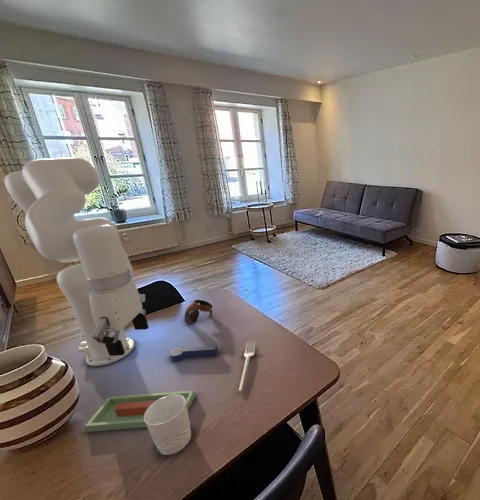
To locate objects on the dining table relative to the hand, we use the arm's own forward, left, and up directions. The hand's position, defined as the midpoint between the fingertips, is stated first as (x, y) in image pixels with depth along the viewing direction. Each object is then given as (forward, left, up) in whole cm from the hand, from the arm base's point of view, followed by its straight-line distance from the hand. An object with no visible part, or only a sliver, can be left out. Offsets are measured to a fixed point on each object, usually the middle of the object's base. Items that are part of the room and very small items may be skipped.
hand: (130, 340), depth 73 cm
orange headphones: (-1, +37, -19) cm, 42 cm away
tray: (+2, -5, -19) cm, 19 cm away
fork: (+24, +9, -19) cm, 31 cm away
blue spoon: (+5, +16, -19) cm, 25 cm away
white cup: (+13, -14, -19) cm, 26 cm away
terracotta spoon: (+4, -5, -18) cm, 19 cm away
